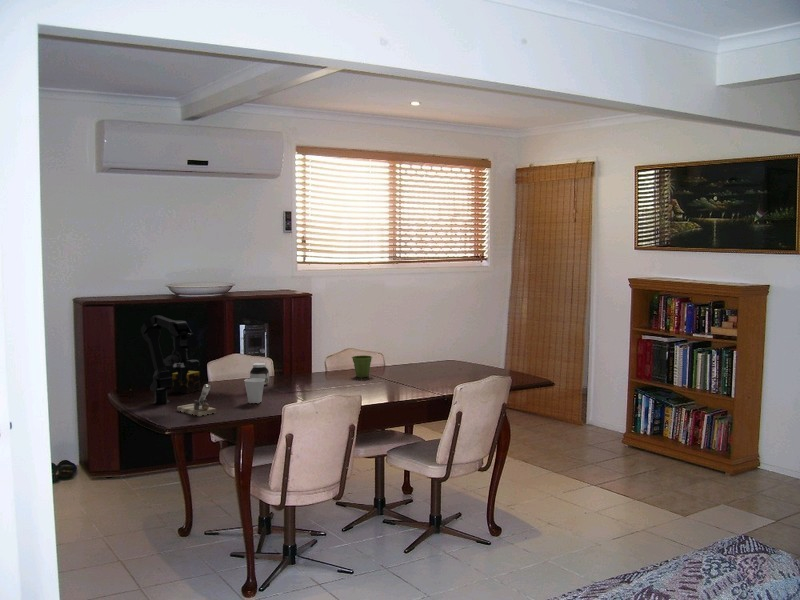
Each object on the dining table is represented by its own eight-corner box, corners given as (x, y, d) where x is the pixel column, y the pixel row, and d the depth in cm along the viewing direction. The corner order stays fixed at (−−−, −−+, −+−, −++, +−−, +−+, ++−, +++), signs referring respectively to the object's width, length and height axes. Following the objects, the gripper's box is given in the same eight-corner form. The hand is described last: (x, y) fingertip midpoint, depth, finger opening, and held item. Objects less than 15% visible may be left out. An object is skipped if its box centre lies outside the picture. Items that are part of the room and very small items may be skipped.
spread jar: (258, 387, 425) (258, 365, 424) (242, 385, 431) (242, 364, 430) (273, 384, 435) (273, 362, 434) (257, 382, 441) (257, 361, 440)
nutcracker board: (177, 410, 369) (177, 397, 369) (194, 407, 376) (193, 395, 376) (199, 416, 358) (199, 403, 357) (216, 413, 364) (216, 400, 364)
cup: (245, 400, 392) (245, 378, 391) (266, 400, 392) (265, 377, 391) (243, 404, 382) (242, 382, 381) (264, 404, 383) (263, 381, 382)
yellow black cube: (200, 390, 418) (200, 371, 418) (188, 393, 409) (187, 374, 408) (185, 388, 423) (184, 370, 422) (172, 392, 414) (171, 373, 413)
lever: (195, 403, 365) (202, 384, 360) (201, 402, 367) (208, 383, 362) (198, 407, 363) (206, 389, 358) (204, 406, 365) (211, 388, 360)
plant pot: (350, 375, 461) (350, 355, 460) (371, 374, 463) (370, 355, 462) (353, 378, 450) (352, 358, 449) (374, 378, 452) (373, 358, 451)
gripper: (153, 349, 372) (155, 383, 372) (179, 350, 361) (181, 385, 361) (172, 347, 381) (175, 379, 381) (199, 347, 370) (201, 381, 370)
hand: (182, 381), depth 373 cm, fingers closed
